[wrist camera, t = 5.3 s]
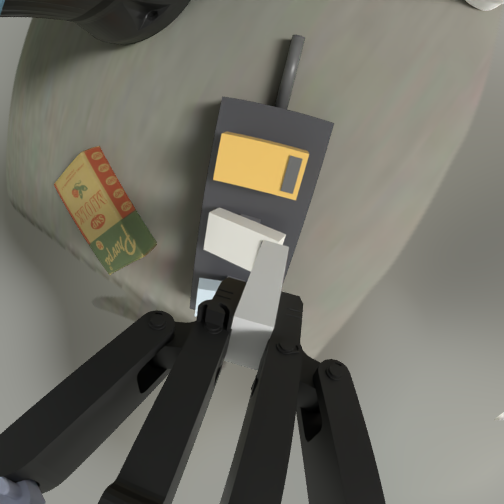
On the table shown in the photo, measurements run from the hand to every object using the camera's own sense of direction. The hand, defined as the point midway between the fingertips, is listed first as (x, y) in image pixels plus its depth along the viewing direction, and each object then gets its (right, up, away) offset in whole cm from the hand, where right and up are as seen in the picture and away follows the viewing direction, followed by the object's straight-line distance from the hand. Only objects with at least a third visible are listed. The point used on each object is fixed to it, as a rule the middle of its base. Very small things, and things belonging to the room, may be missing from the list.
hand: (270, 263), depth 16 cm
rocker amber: (0, +8, +6) cm, 10 cm away
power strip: (0, +8, +13) cm, 15 cm away
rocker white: (-2, +2, +10) cm, 10 cm away
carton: (-21, +7, +19) cm, 29 cm away
